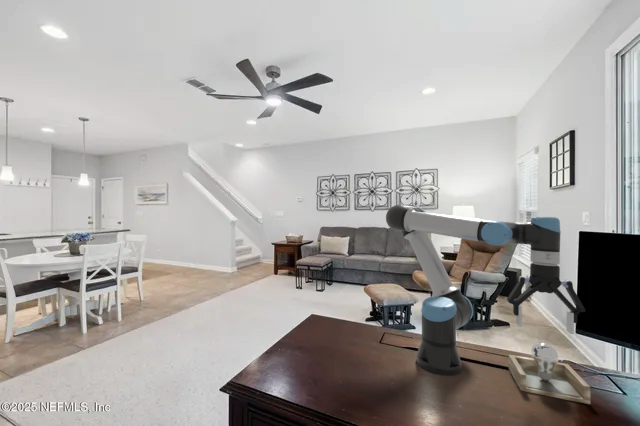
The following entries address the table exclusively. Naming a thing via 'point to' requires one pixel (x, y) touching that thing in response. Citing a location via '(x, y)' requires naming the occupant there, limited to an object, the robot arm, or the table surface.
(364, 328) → the table surface
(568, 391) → the shallow wooden tray
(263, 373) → the table surface
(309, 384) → the table surface
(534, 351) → the light bulb
